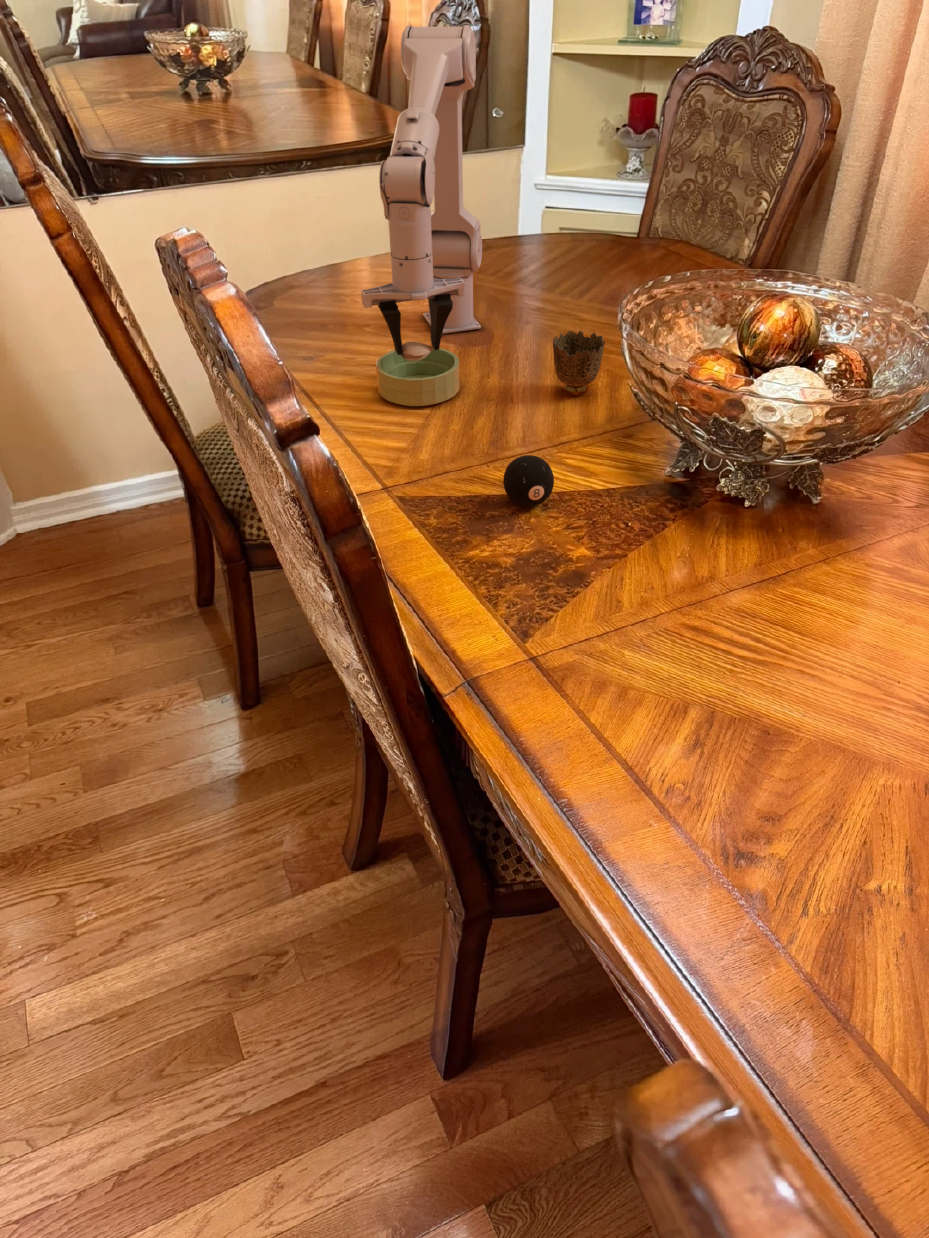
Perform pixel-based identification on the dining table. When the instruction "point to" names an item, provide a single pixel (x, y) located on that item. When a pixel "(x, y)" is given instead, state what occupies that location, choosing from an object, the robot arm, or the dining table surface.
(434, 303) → the robot arm
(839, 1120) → the dining table surface
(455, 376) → the bowl
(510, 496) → the billiard ball
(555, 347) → the cup
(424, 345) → the seashell
